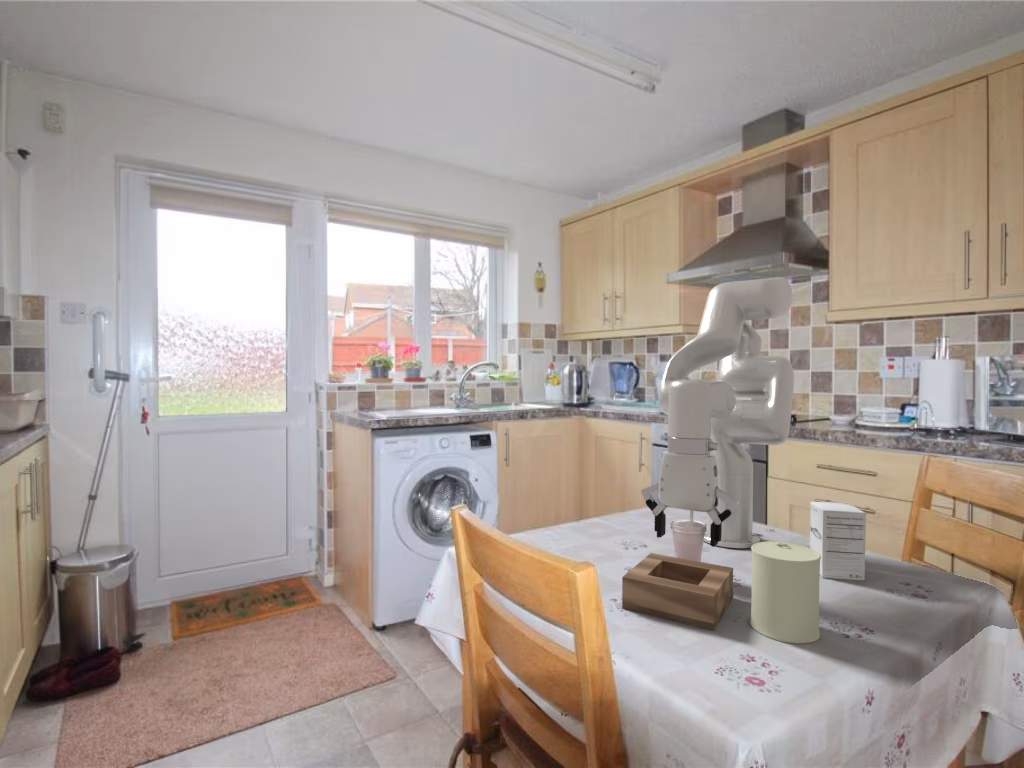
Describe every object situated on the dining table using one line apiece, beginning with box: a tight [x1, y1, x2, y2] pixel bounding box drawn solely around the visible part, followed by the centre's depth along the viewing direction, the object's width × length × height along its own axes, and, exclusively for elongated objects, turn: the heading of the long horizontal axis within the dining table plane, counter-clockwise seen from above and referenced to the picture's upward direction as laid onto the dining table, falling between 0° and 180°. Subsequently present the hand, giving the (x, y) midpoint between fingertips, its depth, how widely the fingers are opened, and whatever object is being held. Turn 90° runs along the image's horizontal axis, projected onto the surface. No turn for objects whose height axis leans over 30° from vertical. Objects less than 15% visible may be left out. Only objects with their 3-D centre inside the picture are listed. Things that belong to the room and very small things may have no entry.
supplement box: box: [809, 501, 867, 581], centre depth 103 cm, size 7×7×13 cm
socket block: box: [621, 552, 734, 631], centre depth 90 cm, size 14×14×5 cm
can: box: [749, 540, 821, 645], centre depth 81 cm, size 9×9×12 cm
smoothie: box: [669, 510, 707, 562], centre depth 101 cm, size 6×6×14 cm
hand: (686, 540), depth 101 cm, fingers open, 9 cm apart
